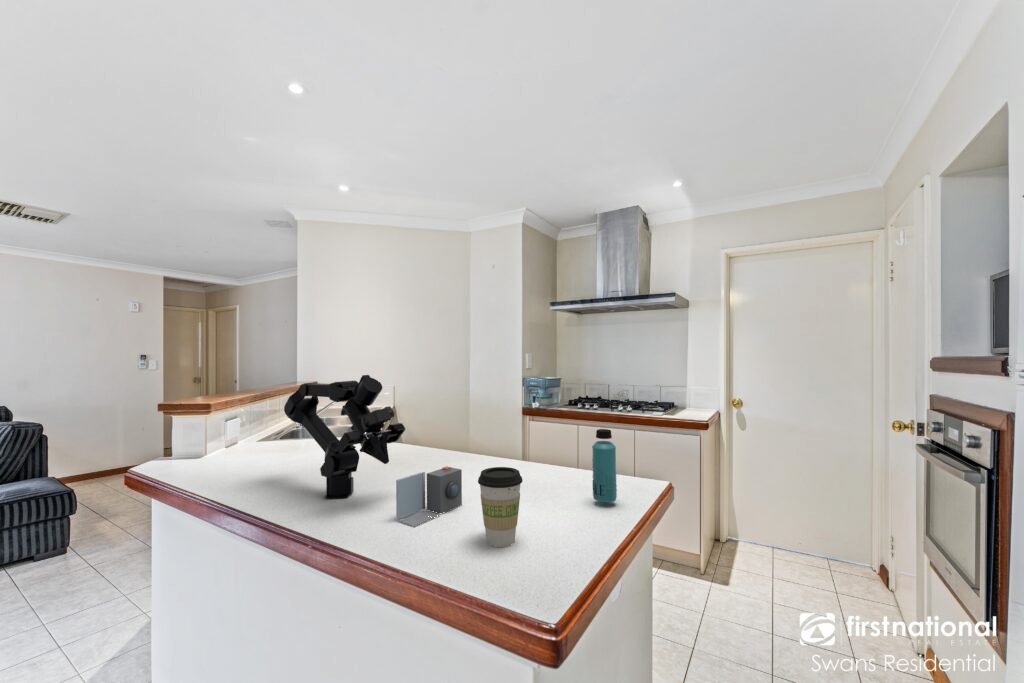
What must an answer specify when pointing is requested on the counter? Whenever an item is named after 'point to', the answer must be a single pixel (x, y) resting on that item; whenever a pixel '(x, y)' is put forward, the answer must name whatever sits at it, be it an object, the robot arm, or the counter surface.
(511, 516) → the coffee cup
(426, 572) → the counter surface
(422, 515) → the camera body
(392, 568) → the counter surface
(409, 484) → the side door
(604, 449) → the beverage bottle
